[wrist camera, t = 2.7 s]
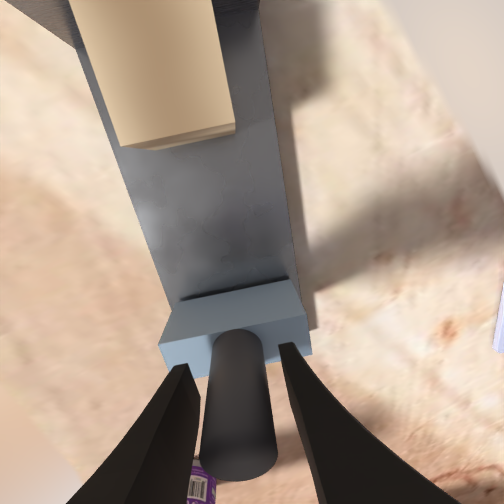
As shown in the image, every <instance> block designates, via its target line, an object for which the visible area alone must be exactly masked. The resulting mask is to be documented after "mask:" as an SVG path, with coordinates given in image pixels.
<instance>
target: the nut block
mask: <svg viewBox="0 0 504 504" xmlns="http://www.w3.org/2000/svg"><path fill="white" fill-rule="evenodd" d="M69 3H70V5H71V8H72V11H73V14H74V17H75V20H76V22H77V25H78V28H79V31H80V34H81V36H82V39H83V42H84V45H85V48H86V51H87V53H88V56H89V59H90V62H91V65H92V67H93V70H94V73H95V76H96V79H97V81H98V84H99V87H100V90H101V93H102V96H103V98H104V101H105V104H106V107H107V110H108V112H109V115H110V118H111V121H112V124H113V126H114V129H115V132H116V135H117V138H118V141H119V143H120V146H121V147H129V148H138V149H147V150H160V149H165V148H170V147H174V146H179V145H184V144H188V143H193V142H198V141H202V140H207V139H212V138H216V137H221V136H226V135H231V134H235V118H234V113H233V108H232V103H231V98H230V93H229V88H228V83H227V78H226V73H225V68H224V63H223V57H222V52H221V47H220V42H219V37H218V32H217V27H216V22H215V17H214V12H213V7H212V2H211V0H69Z"/></svg>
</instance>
